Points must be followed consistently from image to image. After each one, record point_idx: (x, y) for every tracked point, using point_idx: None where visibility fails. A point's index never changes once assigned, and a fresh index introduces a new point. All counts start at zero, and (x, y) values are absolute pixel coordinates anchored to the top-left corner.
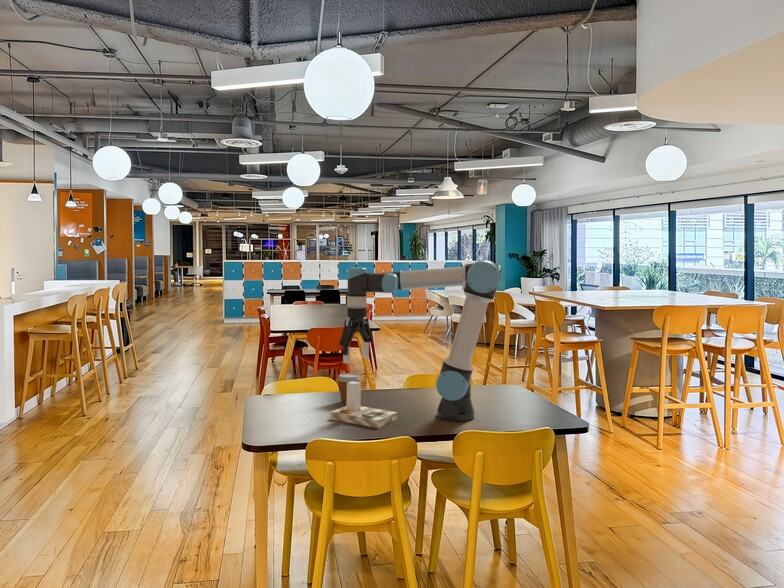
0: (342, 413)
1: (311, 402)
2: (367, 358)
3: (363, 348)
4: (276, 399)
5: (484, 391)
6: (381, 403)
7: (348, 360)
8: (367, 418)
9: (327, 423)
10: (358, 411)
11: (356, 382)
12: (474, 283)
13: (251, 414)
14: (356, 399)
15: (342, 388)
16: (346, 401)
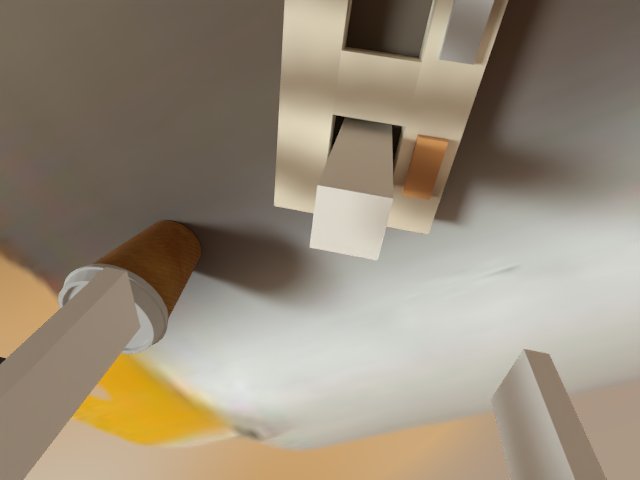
0: (443, 178)
1: (250, 338)
2: (125, 275)
3: (53, 418)
4: (277, 411)
5: None
6: (92, 124)
7: (562, 396)
8: (505, 6)
9: (493, 205)
10: (358, 128)
11: (334, 211)
12: None
13: (452, 418)
14: (378, 154)
15: (179, 294)
16: (195, 248)
